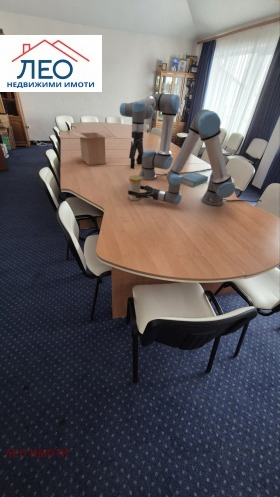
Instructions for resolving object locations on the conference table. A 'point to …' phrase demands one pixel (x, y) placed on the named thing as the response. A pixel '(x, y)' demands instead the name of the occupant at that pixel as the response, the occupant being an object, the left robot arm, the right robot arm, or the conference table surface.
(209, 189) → the right robot arm
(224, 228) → the conference table surface
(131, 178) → the lid
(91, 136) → the box
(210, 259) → the conference table surface
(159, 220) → the conference table surface
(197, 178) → the book
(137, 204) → the conference table surface
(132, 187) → the jar
